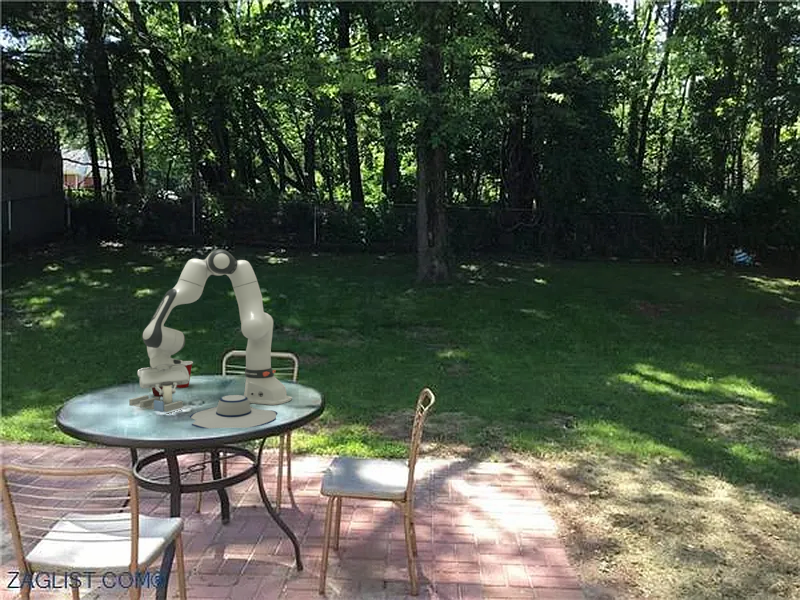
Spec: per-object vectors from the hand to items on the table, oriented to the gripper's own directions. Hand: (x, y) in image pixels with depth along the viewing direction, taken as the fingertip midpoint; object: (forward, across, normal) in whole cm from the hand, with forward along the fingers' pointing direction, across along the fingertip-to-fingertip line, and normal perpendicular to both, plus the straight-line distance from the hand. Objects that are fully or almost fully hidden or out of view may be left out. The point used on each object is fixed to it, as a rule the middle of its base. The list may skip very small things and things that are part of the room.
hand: (167, 393), depth 292 cm
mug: (-13, +4, +24) cm, 27 cm away
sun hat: (+22, +21, -9) cm, 32 cm away
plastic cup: (-26, +17, +38) cm, 49 cm away
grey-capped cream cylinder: (+3, 0, +4) cm, 5 cm away
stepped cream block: (+1, -4, +10) cm, 11 cm away
